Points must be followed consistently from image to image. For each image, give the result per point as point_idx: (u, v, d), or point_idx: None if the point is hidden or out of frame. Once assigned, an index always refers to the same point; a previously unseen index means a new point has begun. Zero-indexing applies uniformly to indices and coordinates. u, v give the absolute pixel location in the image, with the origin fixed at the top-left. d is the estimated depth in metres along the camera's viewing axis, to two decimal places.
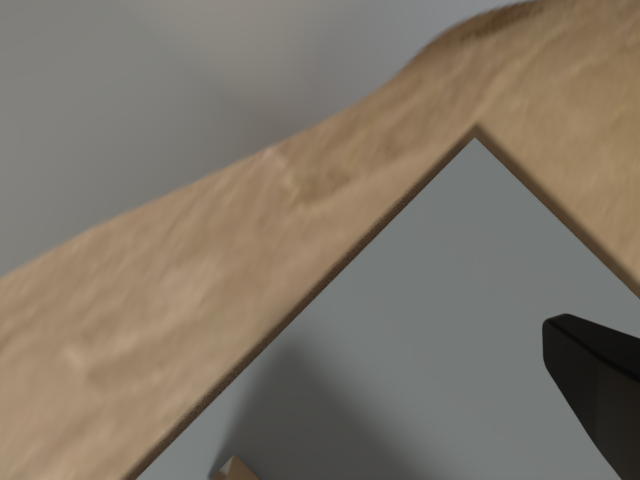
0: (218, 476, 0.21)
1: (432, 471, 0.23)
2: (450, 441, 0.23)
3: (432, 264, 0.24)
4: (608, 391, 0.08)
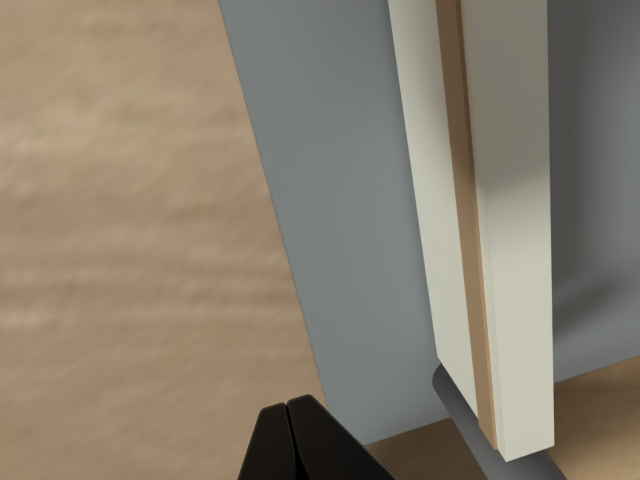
0: None
1: (601, 82, 0.18)
2: None
3: None
4: None
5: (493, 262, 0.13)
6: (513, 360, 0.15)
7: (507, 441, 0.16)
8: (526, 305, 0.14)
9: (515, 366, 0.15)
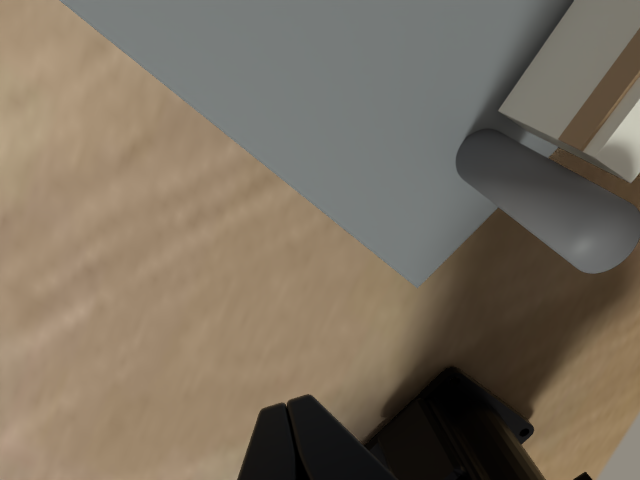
0: None
1: None
2: None
3: None
4: None
5: None
6: None
7: (614, 134, 0.14)
8: None
9: None
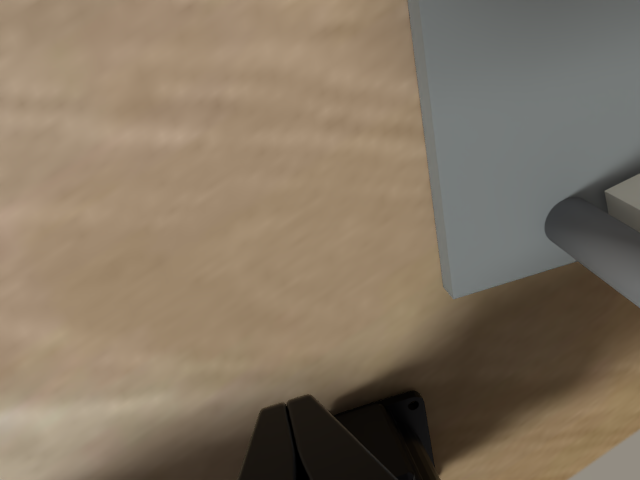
0: None
1: None
2: None
3: None
4: None
5: None
6: None
7: None
8: None
9: None
